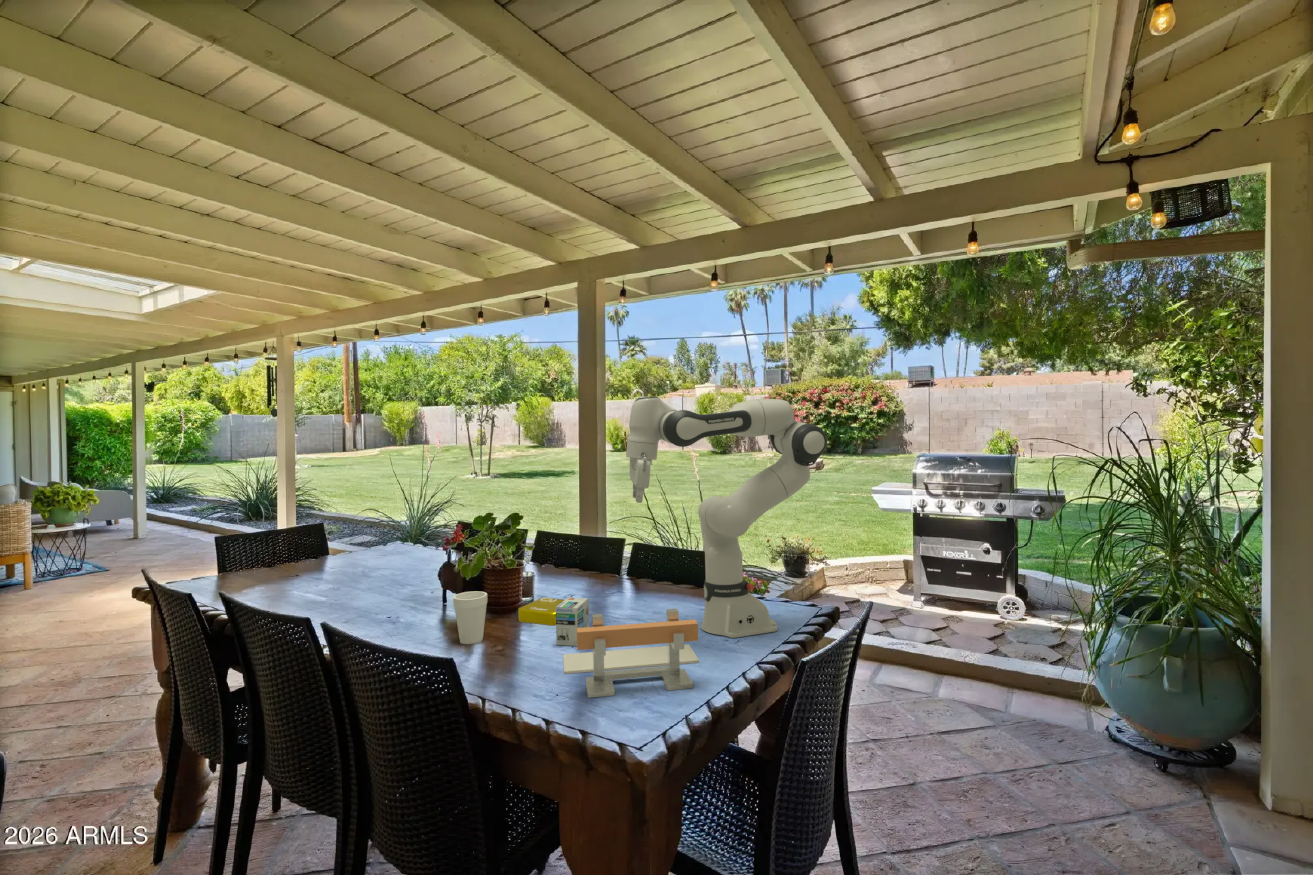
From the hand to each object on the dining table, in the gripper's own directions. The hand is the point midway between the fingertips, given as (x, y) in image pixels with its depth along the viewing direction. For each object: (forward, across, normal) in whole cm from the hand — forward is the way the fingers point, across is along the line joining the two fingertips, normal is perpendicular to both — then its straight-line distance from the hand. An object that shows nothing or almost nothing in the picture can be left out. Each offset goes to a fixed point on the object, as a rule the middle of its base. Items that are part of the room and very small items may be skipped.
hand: (637, 500), depth 175 cm
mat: (+39, -18, 0) cm, 43 cm away
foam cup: (+45, +5, +43) cm, 63 cm away
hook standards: (+38, -35, -1) cm, 52 cm away
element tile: (+44, +24, +22) cm, 55 cm away
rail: (+28, -35, 0) cm, 45 cm away
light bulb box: (+42, 0, +14) cm, 44 cm away
